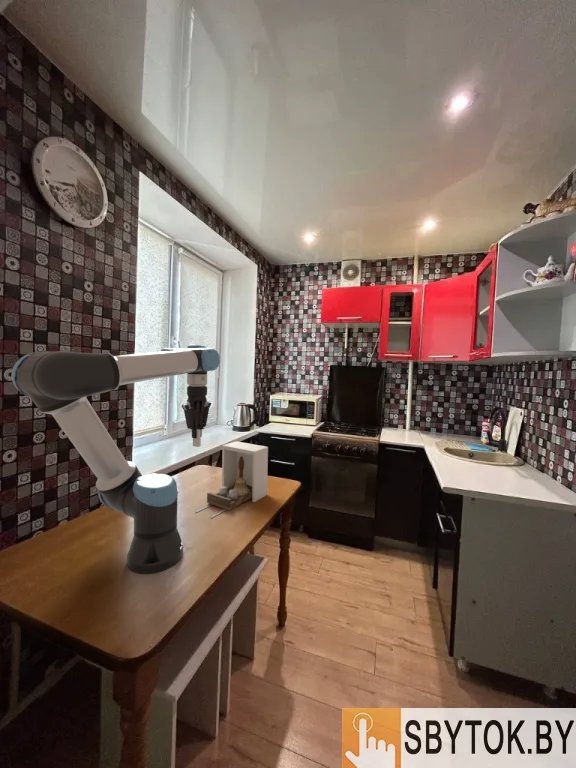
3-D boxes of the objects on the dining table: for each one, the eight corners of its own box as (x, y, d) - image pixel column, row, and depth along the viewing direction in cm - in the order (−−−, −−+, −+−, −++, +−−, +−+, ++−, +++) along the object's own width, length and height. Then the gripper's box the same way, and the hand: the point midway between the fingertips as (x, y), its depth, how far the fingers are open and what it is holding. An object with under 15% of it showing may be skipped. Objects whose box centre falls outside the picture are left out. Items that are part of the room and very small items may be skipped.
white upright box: (220, 521, 114) (221, 463, 113) (186, 509, 123) (187, 455, 122) (267, 494, 139) (267, 446, 138) (235, 486, 148) (236, 441, 147)
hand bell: (254, 491, 138) (254, 456, 137) (240, 497, 131) (240, 460, 131) (240, 487, 143) (241, 452, 142) (226, 492, 136) (227, 456, 136)
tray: (229, 510, 122) (229, 497, 122) (207, 502, 128) (207, 490, 128) (259, 493, 139) (259, 482, 139) (238, 487, 145) (238, 476, 145)
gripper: (190, 386, 113) (190, 451, 114) (216, 385, 124) (215, 444, 125) (176, 385, 117) (176, 448, 118) (203, 384, 128) (202, 441, 129)
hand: (196, 446), depth 121 cm, fingers closed
